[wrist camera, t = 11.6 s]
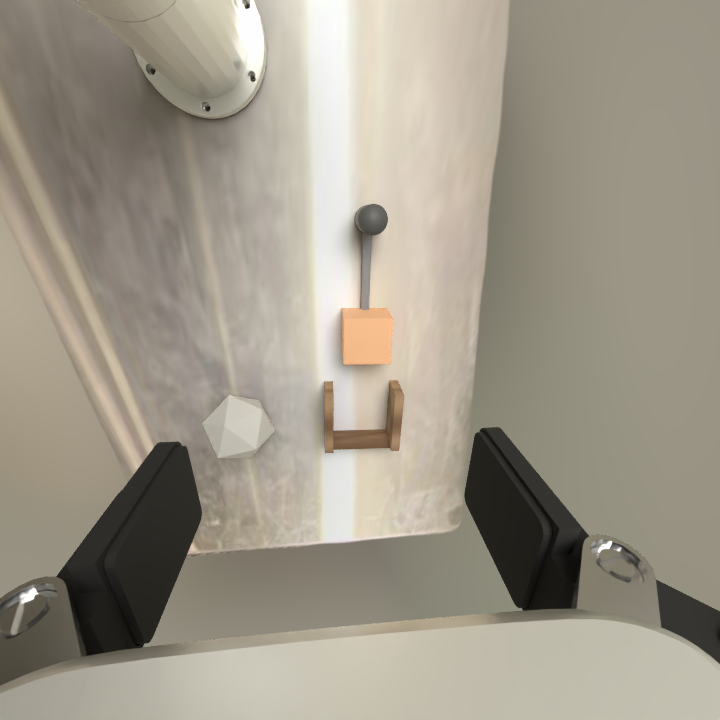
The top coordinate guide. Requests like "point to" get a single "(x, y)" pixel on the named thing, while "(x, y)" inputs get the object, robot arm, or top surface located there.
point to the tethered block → (367, 303)
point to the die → (238, 427)
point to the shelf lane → (365, 437)
